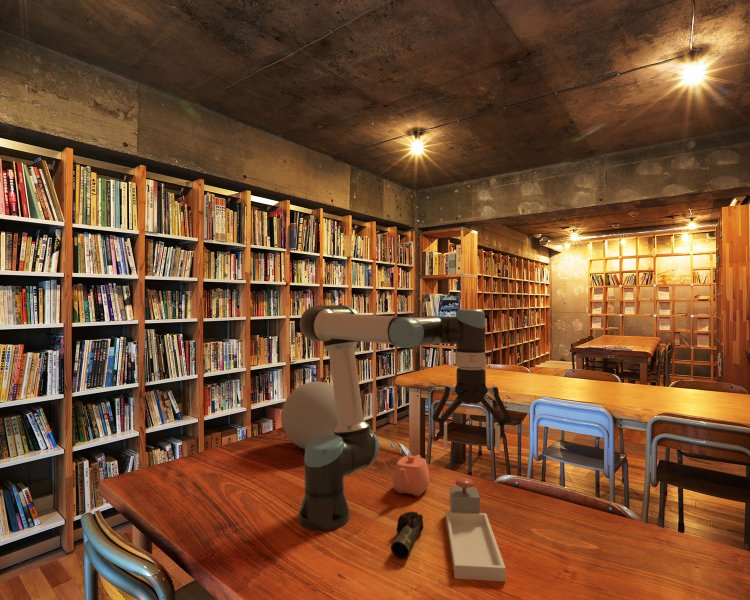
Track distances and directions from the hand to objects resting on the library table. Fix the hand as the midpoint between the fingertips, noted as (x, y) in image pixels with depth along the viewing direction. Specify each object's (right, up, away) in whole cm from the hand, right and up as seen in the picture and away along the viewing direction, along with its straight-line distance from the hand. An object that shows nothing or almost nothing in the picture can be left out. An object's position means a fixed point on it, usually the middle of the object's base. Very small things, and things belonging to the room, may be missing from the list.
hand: (471, 448), depth 110 cm
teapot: (-13, -27, +34) cm, 46 cm away
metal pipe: (-18, -29, -3) cm, 35 cm away
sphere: (-52, -28, +78) cm, 98 cm away
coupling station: (+1, -26, +3) cm, 27 cm away
